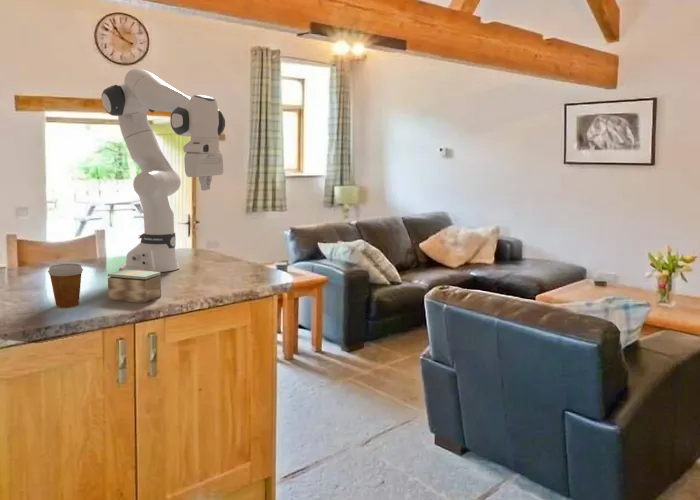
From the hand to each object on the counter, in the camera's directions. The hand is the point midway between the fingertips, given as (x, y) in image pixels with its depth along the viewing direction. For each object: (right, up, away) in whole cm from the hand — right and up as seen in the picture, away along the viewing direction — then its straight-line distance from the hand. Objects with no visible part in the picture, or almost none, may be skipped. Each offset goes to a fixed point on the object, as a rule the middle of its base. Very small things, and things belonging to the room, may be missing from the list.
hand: (205, 190), depth 200 cm
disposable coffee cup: (-38, -36, -14) cm, 55 cm away
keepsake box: (-22, -35, -4) cm, 41 cm away
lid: (-21, -27, -5) cm, 35 cm away
